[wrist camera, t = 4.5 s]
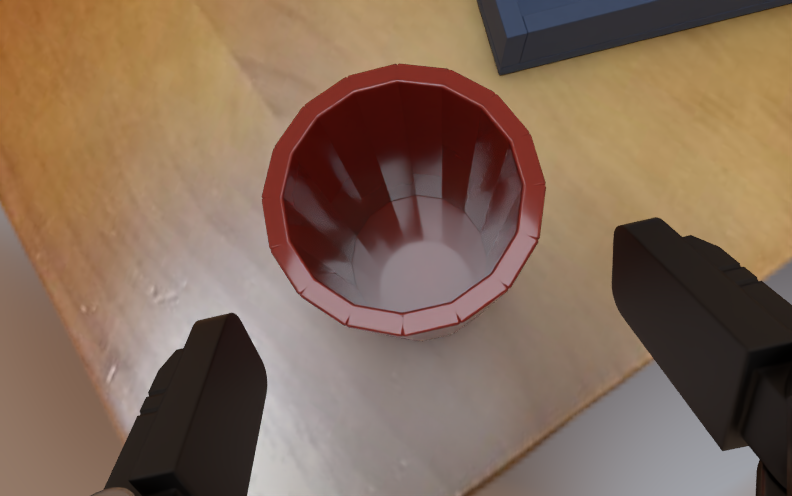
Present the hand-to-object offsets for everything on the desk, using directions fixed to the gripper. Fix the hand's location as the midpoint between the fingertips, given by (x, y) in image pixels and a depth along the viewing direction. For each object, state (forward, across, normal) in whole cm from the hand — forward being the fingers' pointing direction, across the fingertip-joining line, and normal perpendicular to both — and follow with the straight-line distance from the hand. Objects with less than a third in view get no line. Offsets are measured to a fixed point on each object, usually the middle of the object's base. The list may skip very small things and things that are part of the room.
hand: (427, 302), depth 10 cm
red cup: (+8, 0, +4) cm, 9 cm away
